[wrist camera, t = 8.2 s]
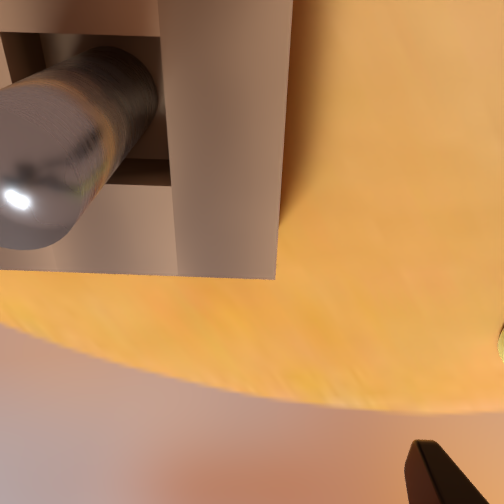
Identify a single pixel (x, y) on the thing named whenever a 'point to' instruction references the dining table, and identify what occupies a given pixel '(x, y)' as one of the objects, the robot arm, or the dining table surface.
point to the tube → (501, 345)
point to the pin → (67, 140)
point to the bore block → (173, 134)
